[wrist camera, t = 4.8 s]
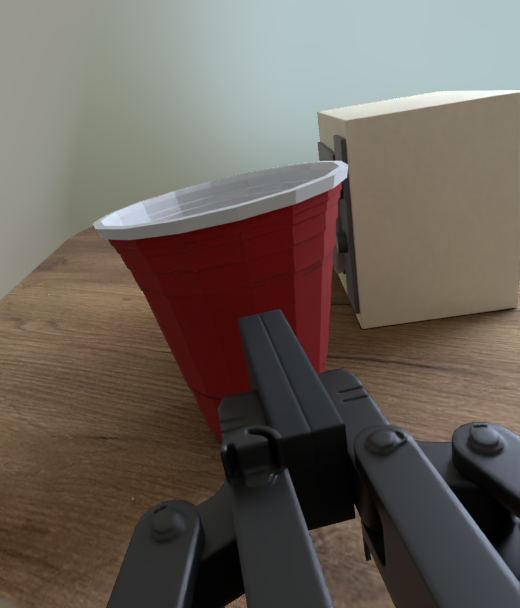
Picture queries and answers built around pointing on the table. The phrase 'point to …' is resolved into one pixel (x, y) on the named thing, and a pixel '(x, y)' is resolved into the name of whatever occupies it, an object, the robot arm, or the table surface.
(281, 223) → the plastic cup
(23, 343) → the table surface
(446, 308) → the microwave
